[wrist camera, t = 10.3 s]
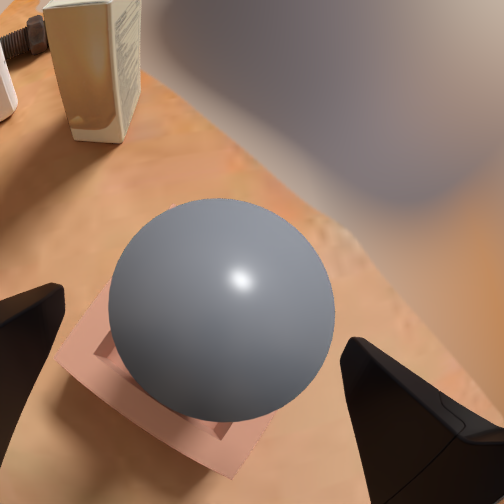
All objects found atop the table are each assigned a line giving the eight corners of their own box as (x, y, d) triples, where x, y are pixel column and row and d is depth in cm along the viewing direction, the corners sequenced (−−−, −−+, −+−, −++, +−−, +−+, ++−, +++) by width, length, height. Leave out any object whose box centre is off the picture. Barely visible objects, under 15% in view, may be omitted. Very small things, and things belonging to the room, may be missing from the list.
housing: (220, 459, 16) (231, 479, 12) (76, 362, 16) (52, 357, 12) (304, 323, 20) (332, 310, 16) (172, 234, 20) (173, 203, 16)
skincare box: (96, 91, 23) (86, -31, 12) (142, 92, 24) (146, -35, 13) (71, 144, 21) (38, 7, 10) (122, 147, 22) (110, -1, 11)
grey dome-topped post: (182, 401, 16) (197, 465, 5) (136, 331, 17) (70, 264, 6) (250, 356, 18) (371, 331, 7) (204, 290, 18) (254, 168, 7)
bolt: (76, 50, 28) (-36, 100, 21) (70, 20, 26) (-38, 67, 20) (77, 24, 22) (-51, 81, 16) (71, -7, 21) (-52, 46, 15)
